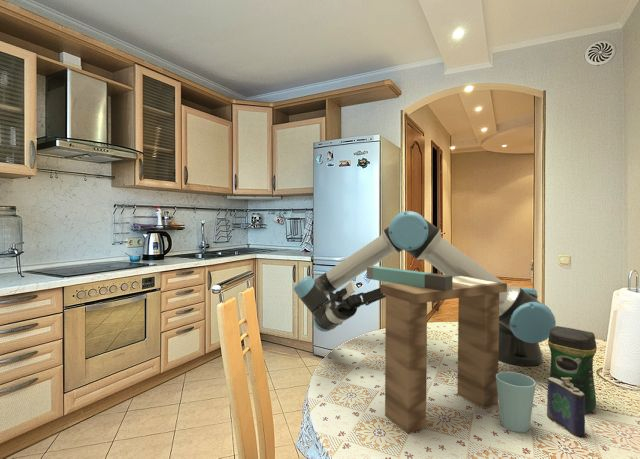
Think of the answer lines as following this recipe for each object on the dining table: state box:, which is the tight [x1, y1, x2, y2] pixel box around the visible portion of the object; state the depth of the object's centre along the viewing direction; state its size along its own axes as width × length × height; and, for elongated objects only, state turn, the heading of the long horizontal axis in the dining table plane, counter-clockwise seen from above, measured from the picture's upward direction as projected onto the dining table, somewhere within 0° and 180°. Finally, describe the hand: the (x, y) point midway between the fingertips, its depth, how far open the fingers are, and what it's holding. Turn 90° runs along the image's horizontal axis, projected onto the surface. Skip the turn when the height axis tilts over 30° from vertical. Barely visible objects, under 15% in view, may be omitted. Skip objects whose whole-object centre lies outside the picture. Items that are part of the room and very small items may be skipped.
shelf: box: [380, 276, 508, 434], centre depth 86 cm, size 28×12×30 cm, turn 116°
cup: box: [496, 371, 537, 434], centre depth 80 cm, size 8×8×10 cm
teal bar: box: [366, 265, 453, 291], centre depth 86 cm, size 3×22×3 cm, turn 41°
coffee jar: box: [547, 325, 598, 413], centre depth 89 cm, size 10×8×19 cm
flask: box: [546, 376, 586, 439], centre depth 80 cm, size 9×3×11 cm, turn 8°
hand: (375, 284), depth 98 cm, fingers open, 13 cm apart
